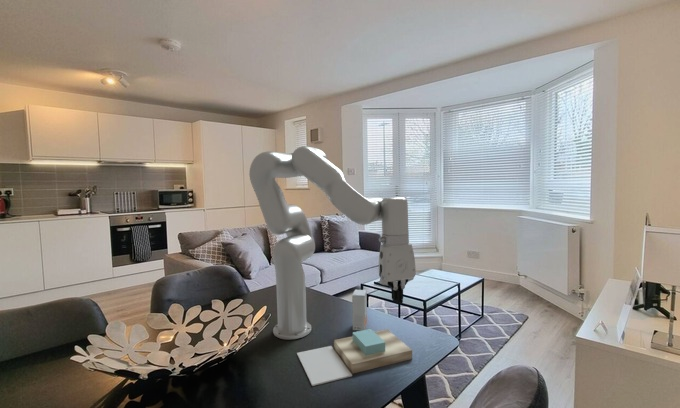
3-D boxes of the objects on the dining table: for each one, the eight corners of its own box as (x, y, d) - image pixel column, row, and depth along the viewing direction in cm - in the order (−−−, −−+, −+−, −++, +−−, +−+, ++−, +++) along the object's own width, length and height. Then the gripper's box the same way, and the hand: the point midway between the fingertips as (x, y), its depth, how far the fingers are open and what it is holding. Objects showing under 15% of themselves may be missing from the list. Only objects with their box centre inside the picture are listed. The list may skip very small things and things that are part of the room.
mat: (297, 354, 94) (296, 352, 94) (331, 346, 97) (331, 345, 97) (312, 386, 79) (312, 384, 79) (352, 376, 83) (352, 374, 83)
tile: (352, 340, 96) (352, 332, 96) (370, 336, 98) (370, 328, 98) (365, 355, 88) (365, 346, 87) (385, 350, 90) (385, 342, 90)
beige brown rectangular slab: (334, 348, 97) (333, 340, 97) (387, 336, 103) (387, 329, 103) (352, 373, 84) (352, 364, 83) (412, 358, 90) (412, 350, 90)
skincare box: (365, 331, 107) (364, 295, 106) (352, 330, 108) (351, 295, 107) (367, 323, 113) (366, 289, 112) (355, 322, 114) (354, 289, 113)
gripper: (378, 244, 88) (381, 310, 89) (425, 239, 93) (426, 301, 94) (366, 240, 95) (368, 302, 96) (410, 235, 100) (412, 294, 101)
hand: (397, 301), depth 95 cm, fingers closed
